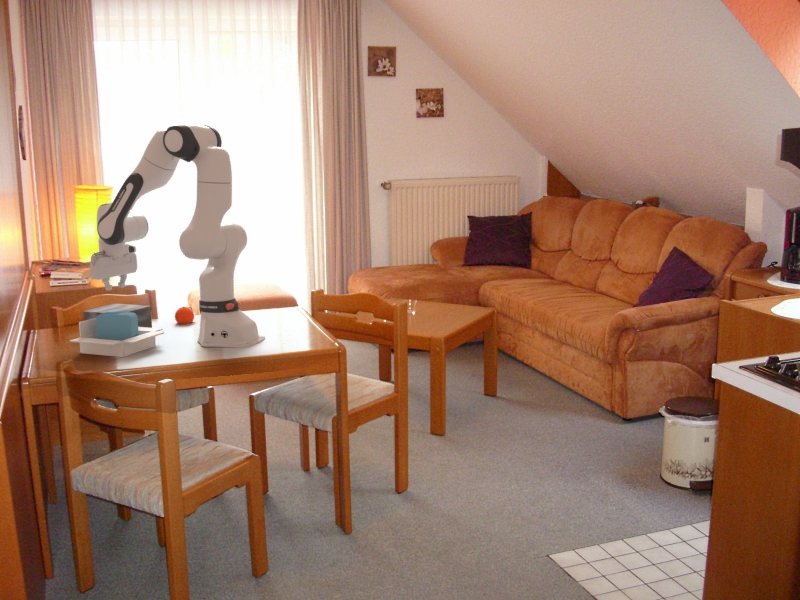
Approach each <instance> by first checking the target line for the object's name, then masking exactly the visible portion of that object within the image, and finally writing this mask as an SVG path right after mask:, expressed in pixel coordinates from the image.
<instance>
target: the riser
mask: <svg viewBox="0 0 800 600" xmlns="http://www.w3.org/2000/svg"><path fill="white" fill-rule="evenodd" d="M151 309H152V307H151V305H147V304H146V305H142V304H129V303H128V304H126V303H112V304H107V305H102V306H98V307H95V308H91V309H87V310H83V311H82V318H83V320H82V321H85V320H89V319H93V318H96V317H97V316H98V315H100V314H103V313H105V312H133V313H135V314H136V315H137V318H138V327H147V328H153V323H152V321H153V320H152V310H151Z"/></svg>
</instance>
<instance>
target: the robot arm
mask: <svg viewBox="0 0 800 600" xmlns="http://www.w3.org/2000/svg"><path fill="white" fill-rule="evenodd" d="M222 142H223V141H222V136H221V134H220V132H219V131H218V130H217V129H216V128H213V127H212V126H209V125H206V124H205V125H204V124H196V123H175V124H173V125H171V126H169V127H167V128H161V129H159V130H157V131H156V133H154V135H153V136H152V137H151V139H150V141H149V142H148V143H147V146H146V148H145V150H144V152H143V154H142V157H141V158H140V161H138V164H137V166H136V167H135V168H134V170H133V171H132V172H131V173H130V174H129V175H128V176H127V178H125V181H124V182H123V184H122V186H121V187H120V189H119V191H118V192H117V194H116V195H115V197H114V199H113V201H112V202H110V203H109V202H107V203H103V204H101V205H99V206H98V208H97V211H96V231H97V234H98V251H95V252H93V253H92V255H91V257H90V262H89V263H90V264H89V277H90V278H91V280H95V281H97V280H101V281H102V284H103V285H104V286H105V287H104V288H105V289H104V290H105V291H112V290H113V285H112V284H111V283H110V281H111V278H114V277H119V278H120V279H119V282H117V284H118V289H119V288H120V289H121V288H125V287H126V280H127V278H128V277H127V275H129V274H133V273H137V270H138V259H137V254H136V252H137V248H136V246H134V245H131V244H127V243H129V242H133V241H134V242H135V241H139V240H142V239H144V238H145V237H146V236H147V234H148V232H149V223H148V219H147V218H146V217H145V216H144V215H143V214H142V213H140V212H136V211H133V208H134V206H135V205H136V203H137V201H138V200H139V199H140V198H141V197H142V196H144V195H146V194H148V193H149V192H152V191H155V190H157V189H161V188H162V187H165V186H166V185H167V184H168V183H169V181H170V180H171V179H172V177H173V175H174V173H175V171H176V168H177V167H178V164H179V162H180V160H183V161H185V162H187V163H190V162H193V163H194V164H195V166H196V202H195V203H196V204H195V209H194V213H193V215H192V218H191V220H190V222H189V224H188V226H187V227H186V228H185V229H184V230H183V231H182V232H181V234H180V237H179V240H178V241H179V243H178V244H179V248H180V251H181V253H182V255H184V257H186V258H188V259H191V260H201V261H202V260H208V261H207V264H206V267H205V269H203V270H202V272H201V273H200V275H199V279H198V281H199V282H198V283H199V285H198V286H199V300H198V309H199V313H200V324H199V325H200V328H199V333H198V339H197V343H198V344H200V346H201V347H204V348H205V347H210V348H213V347H214V348H240V347H243V348H248V347H252V346H255V345H257V344H260V343H261V342H263V341H264V340H265V339H266V336H264V335H259V330H258V326H257V323H256V321H255V320H253V319H252V318H250V317H249V316H248V315H247V314H246V313H244V312H243V311H242V310H240V305H242V302H243V301H242V300H239V301H237V300H236V299H237V298H236V297H235V287H234V285H235V284H234V283H235V277H234V276H235V270H236V266H237V262H238V259H239V258H240V255H241V253H242V252H243V251H244V249H245V248H246V246H247V244H248V236H247V233H246V230H245V229H244V227H242V225H239V224H235V223H230V222H224V223H222V220H223V218H224V216H225V215H226V213H227V212H228V211H230V209H231V207H232V204H233V203H232V202H233V200H232V199H233V197H232V196H233V194H232V193H233V172H232V163H231V160H230V159H231V158H230V153H228V151H227V150H225V149H224V148H222V145H223V143H222Z"/></svg>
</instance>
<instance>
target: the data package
mask: <svg viewBox="0 0 800 600" xmlns="http://www.w3.org/2000/svg"><path fill="white" fill-rule="evenodd" d="M96 324H97V337H98V339H105V340H117V341H123V340H126V339H129V338H132V337H136V336H139V332H138V318H137V315H136V314H135V313H133V312H105V313H103V314H100V315H98V316H97V317H96Z"/></svg>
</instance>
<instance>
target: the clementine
mask: <svg viewBox="0 0 800 600" xmlns="http://www.w3.org/2000/svg"><path fill="white" fill-rule="evenodd" d="M174 318H175V322H176V323H177V324H178V325H188V324H187V323H189V324H192V323H193V322H194V319H195V313H194V310H193V308H192V307H190V306H182V307H178V308H177V310H176V311H175V313H174ZM191 322H192V323H191Z"/></svg>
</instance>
